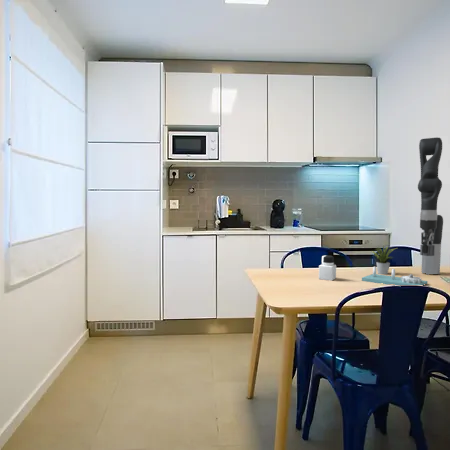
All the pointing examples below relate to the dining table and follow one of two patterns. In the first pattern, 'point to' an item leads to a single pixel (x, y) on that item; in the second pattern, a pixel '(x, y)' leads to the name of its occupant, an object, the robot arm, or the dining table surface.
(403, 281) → the gear board
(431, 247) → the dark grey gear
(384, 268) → the house plant
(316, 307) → the dining table surface
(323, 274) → the medicine bottle
